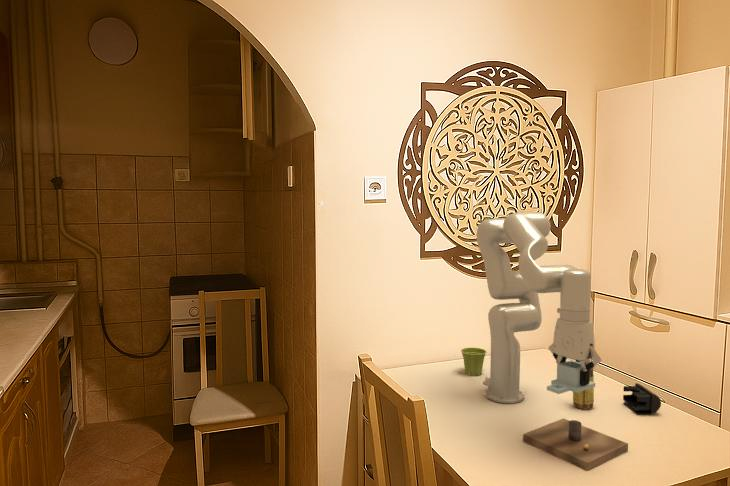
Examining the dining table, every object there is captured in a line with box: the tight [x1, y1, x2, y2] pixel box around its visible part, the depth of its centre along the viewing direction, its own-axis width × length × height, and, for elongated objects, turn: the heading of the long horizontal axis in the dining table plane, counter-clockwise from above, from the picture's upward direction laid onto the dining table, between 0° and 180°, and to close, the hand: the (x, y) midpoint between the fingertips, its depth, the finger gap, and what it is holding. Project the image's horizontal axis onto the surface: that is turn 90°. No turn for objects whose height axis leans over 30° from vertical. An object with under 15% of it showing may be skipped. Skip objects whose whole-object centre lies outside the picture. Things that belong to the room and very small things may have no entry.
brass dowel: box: [584, 443, 589, 451], centre depth 145 cm, size 1×1×2 cm
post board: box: [522, 418, 629, 471], centre depth 152 cm, size 20×18×6 cm
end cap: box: [622, 382, 662, 416], centre depth 176 cm, size 10×7×7 cm
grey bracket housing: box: [546, 359, 596, 395], centre depth 150 cm, size 13×8×6 cm, turn 124°
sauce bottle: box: [572, 360, 595, 410], centre depth 178 cm, size 7×6×20 cm
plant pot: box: [460, 347, 487, 376], centre depth 211 cm, size 9×9×9 cm
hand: (573, 380), depth 151 cm, fingers closed on grey bracket housing, 6 cm apart
